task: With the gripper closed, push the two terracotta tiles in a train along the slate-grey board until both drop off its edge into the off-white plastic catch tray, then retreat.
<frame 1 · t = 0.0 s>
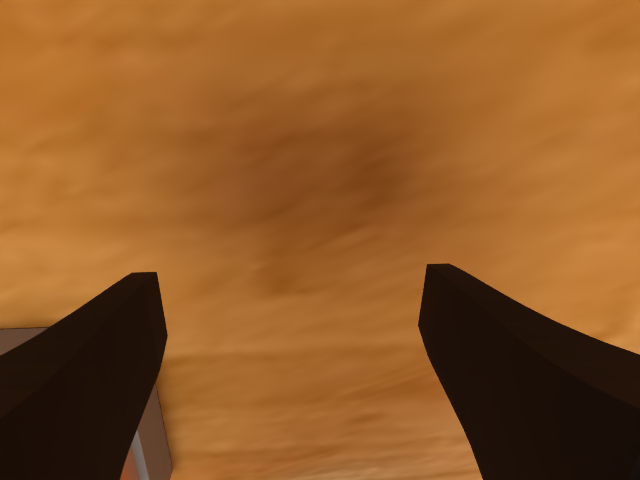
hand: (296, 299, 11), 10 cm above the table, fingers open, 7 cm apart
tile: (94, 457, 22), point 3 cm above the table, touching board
board: (56, 409, 25), on the table
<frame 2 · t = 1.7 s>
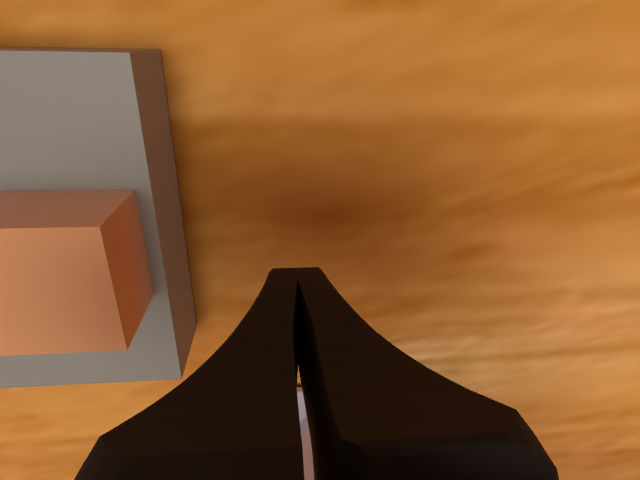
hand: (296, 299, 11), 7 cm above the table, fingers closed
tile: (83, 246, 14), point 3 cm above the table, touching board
board: (28, 210, 17), on the table
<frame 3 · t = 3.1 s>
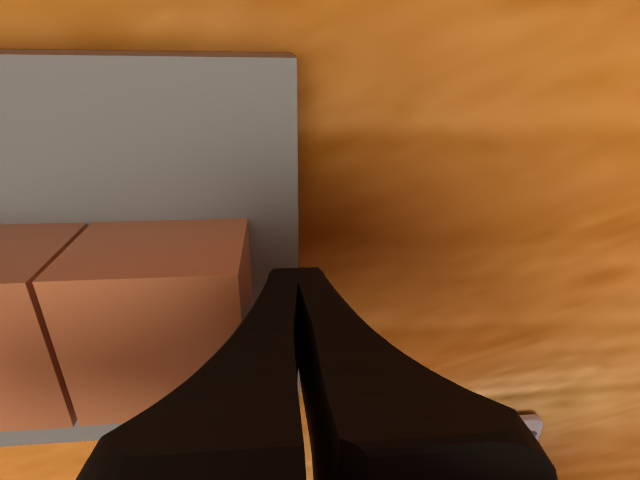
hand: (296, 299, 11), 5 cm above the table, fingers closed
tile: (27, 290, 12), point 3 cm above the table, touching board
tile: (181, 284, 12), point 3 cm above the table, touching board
board: (124, 235, 15), on the table
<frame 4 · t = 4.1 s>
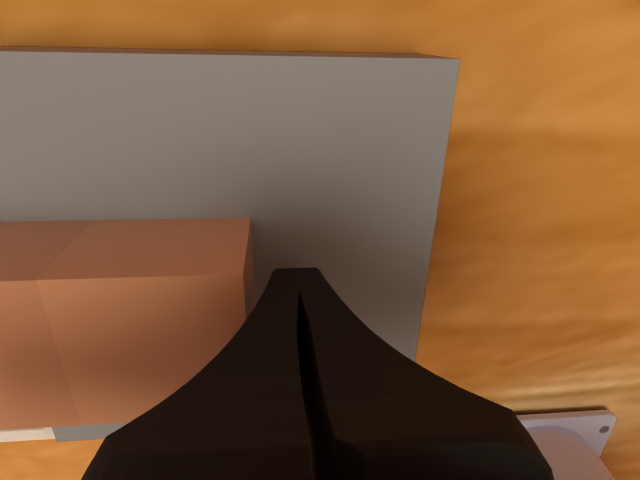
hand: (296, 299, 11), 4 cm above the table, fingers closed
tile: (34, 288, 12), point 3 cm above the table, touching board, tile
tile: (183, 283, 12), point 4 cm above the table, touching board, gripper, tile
board: (235, 232, 15), on the table
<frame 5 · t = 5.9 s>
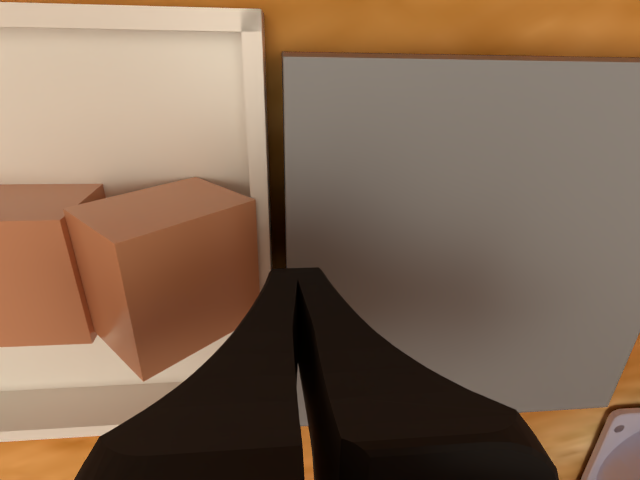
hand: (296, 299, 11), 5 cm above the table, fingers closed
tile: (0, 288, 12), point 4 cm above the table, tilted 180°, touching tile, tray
tray: (99, 235, 15), on the table
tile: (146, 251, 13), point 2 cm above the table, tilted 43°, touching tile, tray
board: (444, 227, 16), on the table
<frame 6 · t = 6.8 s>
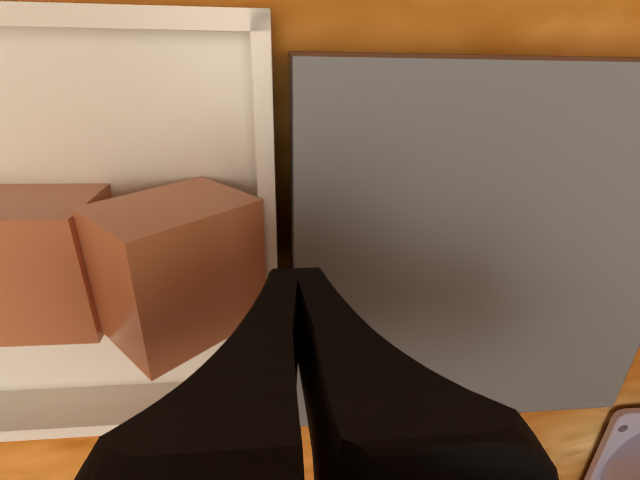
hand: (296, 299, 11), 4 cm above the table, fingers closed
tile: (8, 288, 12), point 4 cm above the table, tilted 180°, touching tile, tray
tray: (105, 234, 15), on the table
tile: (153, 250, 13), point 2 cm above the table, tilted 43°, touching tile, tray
board: (449, 227, 16), on the table
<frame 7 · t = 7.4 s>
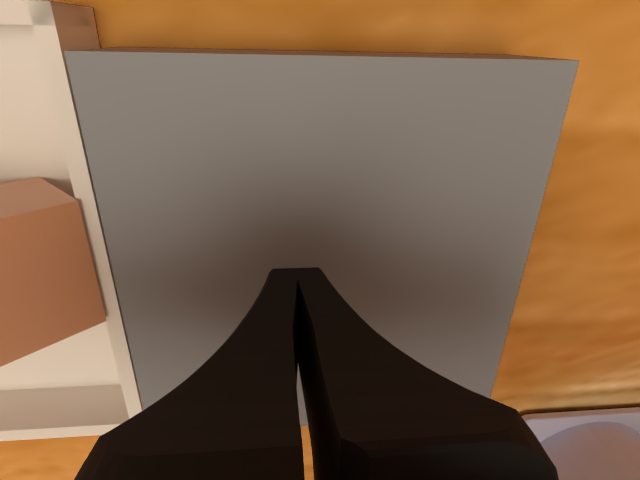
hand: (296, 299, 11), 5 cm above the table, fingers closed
board: (318, 229, 16), on the table
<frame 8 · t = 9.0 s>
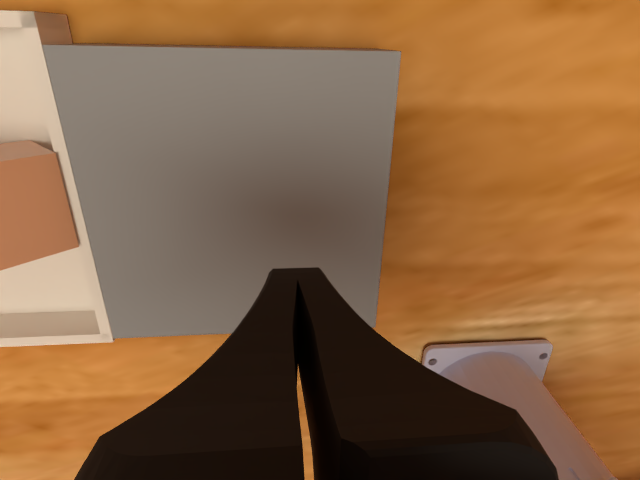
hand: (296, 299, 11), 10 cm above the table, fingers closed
board: (245, 184, 20), on the table
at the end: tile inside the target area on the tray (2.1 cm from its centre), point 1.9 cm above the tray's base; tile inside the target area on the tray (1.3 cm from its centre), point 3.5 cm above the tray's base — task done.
